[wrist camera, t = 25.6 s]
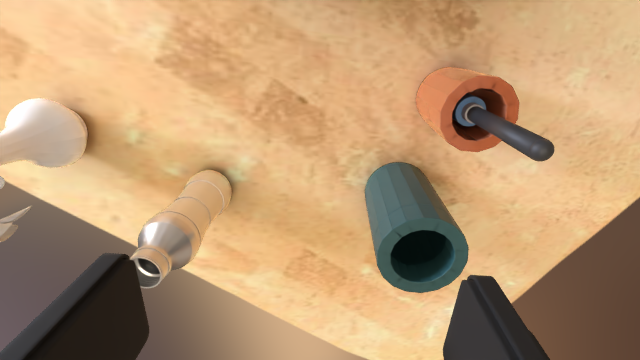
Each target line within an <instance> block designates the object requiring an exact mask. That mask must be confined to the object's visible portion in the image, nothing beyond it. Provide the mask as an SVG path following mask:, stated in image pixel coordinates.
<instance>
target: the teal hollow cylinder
mask: <svg viewBox="0 0 640 360" xmlns="http://www.w3.org/2000/svg"><path fill="white" fill-rule="evenodd" d="M365 198H366V206H367V211H368V217H369V222H370V228H371V233H372V239H373V244H374V250H375V255H376V261H377V265H378V268H379V270H380V272H381V274H382V276H383V278H385V279H386V280H387V281H388V282H389V283H390V284H391V285H392V286H394V287H397V288H399V289H401V290H404V291H407V292H417V293H423V292H429V291H435V290H438V289H440V288H442V287H444V286H446V285H448V284H450V283H451V282H452V281H454V280H455V279H456V278H457V277H458V276H459V275H460V274H461V272H462V271H463V269H464V267H465V265H466V263H467V260H468V250H469V249H468V248H469V247H468V245H467V242H466V239H465V236H464V234H463V233H462V231H461V230H460V228H459V227H458V225H457V224H456V222H455V221H454V219H453V218H452V216H451V214H450V213H449V211H448V210H447V208H446V207H445V205H444V204H443V202H442V201H441V199H440V198H439V196H438V194H437V193H436V191H435V190H434V188H433V187H432V185H431V184H430V182H429V181H428V179H427V178H426V177H425V175H424V174H423V173H422V172H421V170H419V169H418V168H417V167H415V166H413V165H411V164H408V163H402V162H396V163H390V164H387V165H384V166H382V167H380V168H379V169H377V170H376V171H375V172H374V173H373V174H372V175H371V177H370V178H369V180H368V182H367V184H366V188H365Z"/></svg>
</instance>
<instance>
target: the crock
mask: <svg viewBox="0 0 640 360" xmlns="http://www.w3.org/2000/svg"><path fill="white" fill-rule="evenodd" d="M466 93H469V94H471V95H474V96H476V97H478V98H480V99H482V100H483V101H484V103H485V105H486V110H487V111H489V112H491V113H493V114H495V115H497V116H499V117H501V118H503V119H505V120H507V121H510V122H512V123H514V124H515V123H516V121H517V120H518V111H519V100H518V98H517V96H516V94H515V91H514V89H513V87H512V86H511V85H510V84H508V83H507V82H505V81H504V80H502V79H501V78H500V77H497V76H492V75H488V74H484V73H480V72H475V71H471V70H467V69H463V68H456V67H445V68H441V69H438V70H436V71H434V72H432V73H431V74H430V75H428V76H427V77H426V78H425V79H424V81H423V82H422V83H421V85H420V87H419V89H418V92H417V98H416V104H417V109H418V111H419V114H420V115H421V117H422V118H423V120H424V121H425V122H426V123H427V124H428V125H430V126H431V127H432V128H433V129H434V130H435V131H436V132H437V133H438V134H439V135H440V136H441V137H442V138H444V139H445V140H446V141H447V142H448V143H449V144H451V145H453V146H454V147H456V148H457V149H459V150H461V151H471V152H479V151H483V150H486V149H489V148H492V147H494V146H496V145H497V144H498V143H499V142H501V141H502V140H500V139H499V138H497V137H496V136H494V135H492V134H491V133H489V132H487V131H486V130H484V129H483V128H481V127H479V126H478V125H474V126H469V127H468V126H463V125H461V124H459V123H458V122H457V121H455V120H454V119H452V112H453V110H454V108H455V106H456V104H457V102H458V101H459V100H460V99H461V98H462V97H463V96H464V95H465V94H466Z"/></svg>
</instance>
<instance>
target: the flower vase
mask: <svg viewBox="0 0 640 360" xmlns="http://www.w3.org/2000/svg"><path fill="white" fill-rule="evenodd" d="M87 137H88V131H87V127H86V124H85V122H84V121H83V119H82V118H81V117H80V116H79V115H78V114H77V113H76V112H74V111H73V110H71V109H69V108H67V107H65V106H64V105H62V104H60V103H58V102H55V101H53V100H49V99H43V98H35V99H29V100H26V101H24V102H21V103H19V104H18V105H16V106H15V107H14V108H13V109H12V110H11V111H10V113H9V115H8V117H7V119H6V122H5V129H4V130H3V131H1V132H0V166H1V165H4V164H8V163H11V162H16V161H28V162H30V163H33V164H35V165H38V166H42V167H47V168H59V167H65V166H68V165H71V164H73V163H75V162H76V161H77V160H79V159H80V158H81V156H82V155H83V153H84V151H85V148H86V143H87ZM4 184H5V180H4V178H2V177H1V176H0V189H1V188H2V187H3V186H4ZM31 207H32V206H29V207H27V208H25V209H23V210H21V211H19V212H17V213H14V214H12V215H10V216H7V217H5V218H3V219H0V242H2V241H5V240H6V239H8V238H9V237H10V236H11V235H13V233H15V231H16V230H17V228H18V225H12V222H14V221H16V220H17V219H19V218H20V217H21V216H23V215H24V214H25V213H26V212H27V211H28V210H29V209H31Z"/></svg>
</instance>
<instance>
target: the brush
mask: <svg viewBox="0 0 640 360" xmlns="http://www.w3.org/2000/svg"><path fill="white" fill-rule="evenodd" d="M452 119H454V120H455V121H457V122H458V123H459V124H461V125H463V126H468V127H469V126H474V125H478V126H479V127H481V128H483V129H484V130H486V131H487V132H489V133H491V134H492V135H494V136H496V137H497V138H499V139H500V140H502V141H504V142H505V143H507V144H509V145H510V146H512V147H513V148H515V149H517V150H518V151H520V152H522V153H523V154H525V155H526V156H528V157H530V158H531V159H533V160H536V161H545V160H547V159H549V158H550V157H551V156H552V155H553V153H554V145H553V144H552V142H550V141H549V140H547V139H545V138H543V137H541V136H539V135H537V134H535V133H533V132H530V131H528V130H526V129H524V128H522V127H520V126H518V125H516V124H514V123H512V122H510V121H507V120H505V119H503V118H501V117H499V116H497V115H495V114H493V113H491V112H489V111H487V110H486V105H485V103H484V101H483V100H482V99H480V98H478V97H476V96H474V95H471V94H469V93H466V94H465V95H464V96H463V97H462V98H461V99H460V100H459V101H458V102H457V104H456V106H455V108H454V110H453V112H452Z"/></svg>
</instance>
